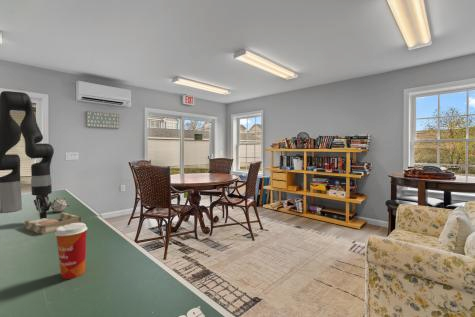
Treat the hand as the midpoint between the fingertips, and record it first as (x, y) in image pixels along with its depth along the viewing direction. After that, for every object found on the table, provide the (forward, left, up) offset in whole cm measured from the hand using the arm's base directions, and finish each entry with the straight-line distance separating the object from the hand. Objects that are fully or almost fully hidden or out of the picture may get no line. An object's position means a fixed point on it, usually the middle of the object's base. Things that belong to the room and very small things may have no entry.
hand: (43, 219), depth 115 cm
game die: (-15, +14, -2) cm, 20 cm away
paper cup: (+65, -18, -2) cm, 67 cm away
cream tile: (+4, -3, -2) cm, 5 cm away
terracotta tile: (+10, -2, -2) cm, 11 cm away
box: (+10, 0, -2) cm, 10 cm away
